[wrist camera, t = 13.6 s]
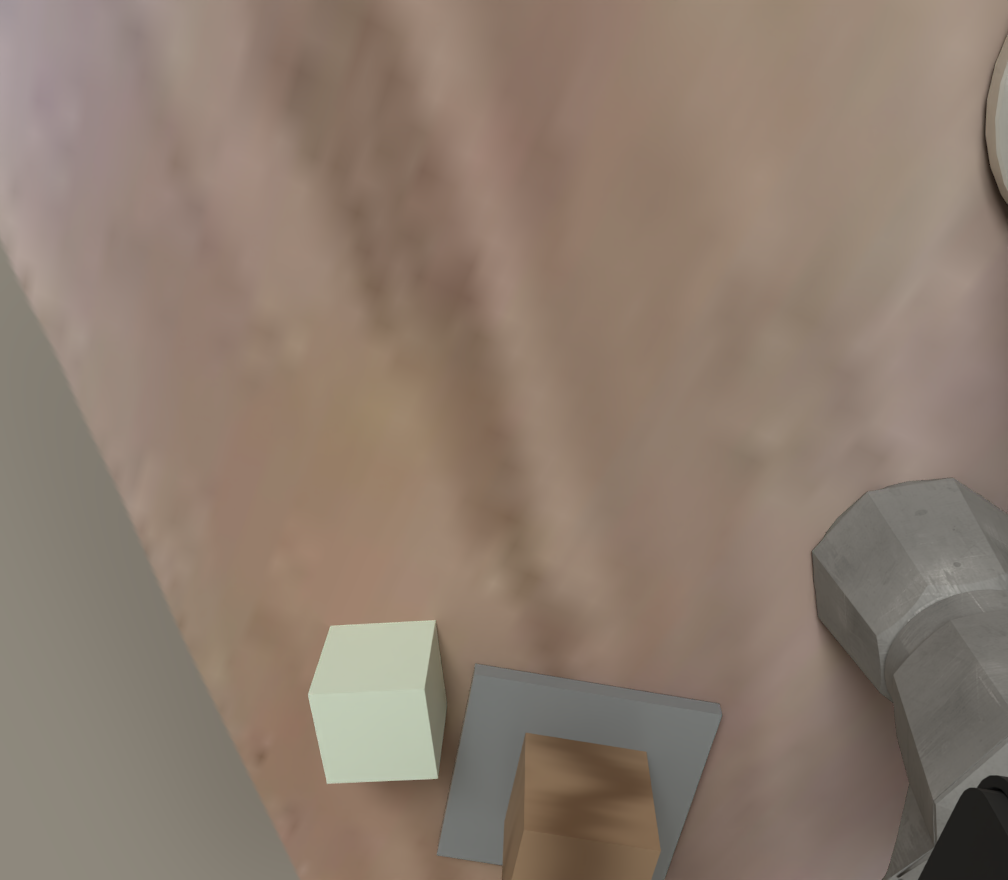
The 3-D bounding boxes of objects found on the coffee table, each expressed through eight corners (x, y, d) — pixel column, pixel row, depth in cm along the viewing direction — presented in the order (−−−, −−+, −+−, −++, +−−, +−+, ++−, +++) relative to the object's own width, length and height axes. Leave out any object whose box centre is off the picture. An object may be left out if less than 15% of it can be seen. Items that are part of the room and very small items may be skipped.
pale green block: (435, 619, 45) (424, 689, 41) (447, 703, 47) (438, 778, 43) (330, 624, 45) (307, 694, 41) (347, 708, 47) (326, 783, 43)
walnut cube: (646, 751, 47) (660, 851, 41) (619, 839, 49) (629, 944, 44) (525, 732, 47) (524, 830, 41) (504, 822, 49) (500, 925, 44)
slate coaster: (719, 703, 46) (722, 714, 46) (659, 877, 51) (660, 890, 51) (475, 663, 46) (474, 674, 45) (438, 843, 51) (436, 855, 50)
